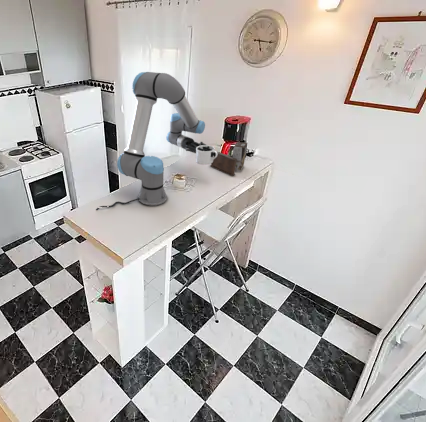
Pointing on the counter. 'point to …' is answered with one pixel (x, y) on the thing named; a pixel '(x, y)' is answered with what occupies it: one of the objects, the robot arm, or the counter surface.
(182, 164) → the counter surface
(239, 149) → the coffee box
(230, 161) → the wall board
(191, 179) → the counter surface
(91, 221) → the counter surface
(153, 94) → the robot arm
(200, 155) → the mug
